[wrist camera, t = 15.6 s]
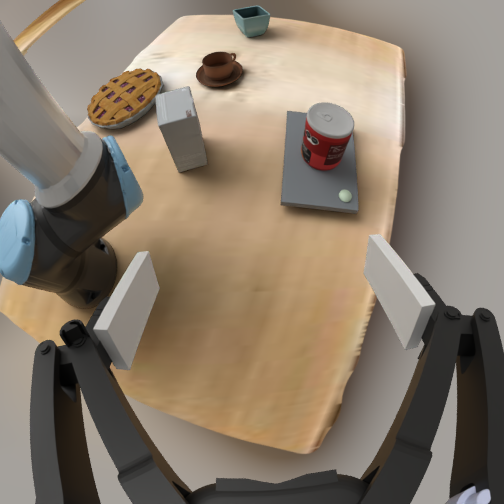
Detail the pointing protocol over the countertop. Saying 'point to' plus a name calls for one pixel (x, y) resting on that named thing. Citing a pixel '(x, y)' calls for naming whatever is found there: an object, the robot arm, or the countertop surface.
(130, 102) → the pie
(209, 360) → the countertop surface
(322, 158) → the canned food
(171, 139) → the skincare box
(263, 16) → the flower pot
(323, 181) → the plate
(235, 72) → the cup and saucer
